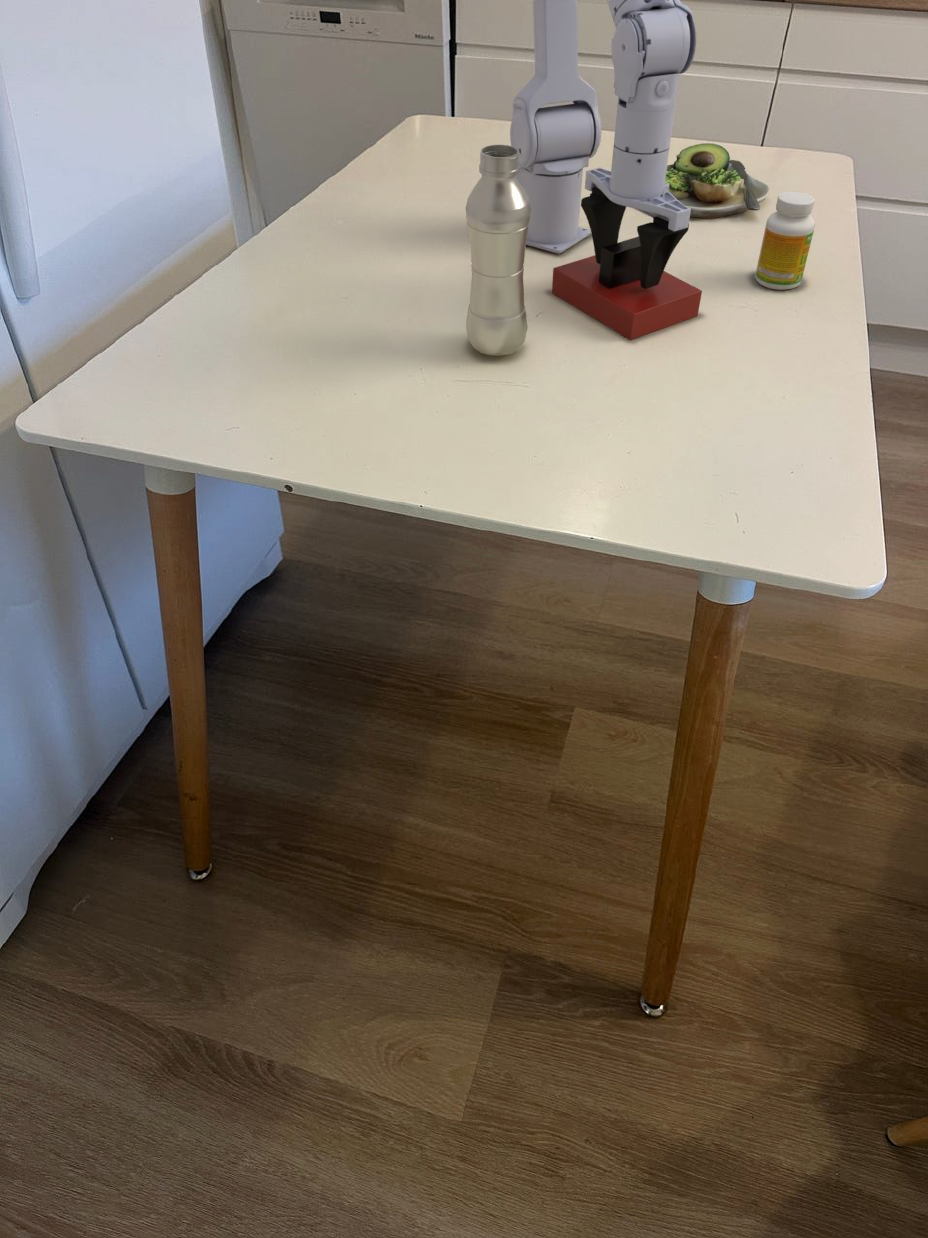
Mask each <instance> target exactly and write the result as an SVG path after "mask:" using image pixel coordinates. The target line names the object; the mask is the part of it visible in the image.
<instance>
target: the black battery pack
mask: <svg viewBox="0 0 928 1238" xmlns="http://www.w3.org/2000/svg"><path fill="white" fill-rule="evenodd" d="M641 259H642V258H641V245H640V239H639V235H638V236H635V237H632V238H628V239H625V240H622V241H618V243H615V244H612V245H609V246H605V247H602V252H601V263H600V273H599V283H601V284H602V285H604V286H606V287H608V288H609V289H611V288H614V287H617V286H620V285H623V284H626V283H629V282H632V281H635V280H638V279H640V273H641Z"/></svg>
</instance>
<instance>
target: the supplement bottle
mask: <svg viewBox="0 0 928 1238" xmlns="http://www.w3.org/2000/svg"><path fill="white" fill-rule="evenodd" d="M814 205H815V198H814V196H813V195H811V194H808V193H806V192H801V191H784V192H782V193H779V195H778V196H777V200H776V204H775V212H773V213H771V214H770V215H769V217H767V220H766V223H765V228H764V232H763V236H762V240H761V241H762V242H761V246H760V251H759V256H758V259H757V265H756V270H755V275H754V278H755V279H756V282H757V283H758V284H759V285H761V286H763V287H764V288H765V287H766V288H767V289H771V290H780V291H781V290H782V291H783V290H785V291H786V290H791V289H795V288H797V287H798V286H800V285H801V284H802V280H803V277H804V272H805V268H806V265H807V261H808V260H807V259H808V257H809V252H810V248H811V244H812V240H813V235H814V232H815V228H816V227H815V226H816V222H815V220H814V218H813V216H811V214H812V213H813V208H814Z"/></svg>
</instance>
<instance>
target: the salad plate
mask: <svg viewBox="0 0 928 1238" xmlns="http://www.w3.org/2000/svg"><path fill="white" fill-rule="evenodd" d="M675 157H676V160H674V162H673V164H667V170H666V178H665V182H667V183H669V190H668V191H669V192H670V193H671V194H672V195H673V196H674V197H675V198H676V199H677V200H678V201H679V202H681V203H682V204H683V205H685V206H686V207H688V208H690V209H691V212H690V217H691V218H700V219H716V218H721V217H725V216H730V215H734V214H742V213H744V212H746V211H755V212H757V211H759V210H760V209H761V207H760V203H762V202H764V201H765V200H766V199H767V197H768V195H769V193H770V187H769V185H767V184H766V183H765V182H763V181H761V180H759V179H757V178H755V177H752V176H751V175H749V174H748V173H747V171H746V167H745V165H744V164H743V163H742V161H740V160H735V159H731V156H730V154H729V151H728V150H727V149H726V148H725V147H723V146H722V145H719V144H716V143H712V142H711V143H706V142H705V143H698V144H694V145H691V146H688V147H685V148H683V149H682V150H681V151H679V153H678V154H677V155H676V156H675Z"/></svg>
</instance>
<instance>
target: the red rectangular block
mask: <svg viewBox="0 0 928 1238" xmlns="http://www.w3.org/2000/svg"><path fill="white" fill-rule="evenodd" d="M599 273H600V264H598V263H597V262H596V257H595V254H594V255H591V256H588V257H584V258H582V259H578V260H575V261H571V262H568V263H565V264H562V265H558V266H556V267H553V268H552V282H551V283H552V285H551V293H552V294H553V295H555V296H557V297H558V298H560V299H562V300H563V301H565V302H566V303H568V304H569V305H571V306H573V307H575V308H576V309H578V310H580V311H582V312H583V313H585V314H586V315H588V316H590V317H591V318H593V319H595V320H596V321H598V322H599V323H601V324H603V325H604V326H606V327H607V328H610V329H611V330H613V331H615V332H616V333H618V334H619V335H622V336H623V337H624V338H626V339H628V340H629V341H632V340H634V339H638V338H640V337H644V336H646V335H649V334H651V333H654V332H657V331H660V330H662V329H665V328H668V327H672V326H673V325H677V324H679V323H682V322H685V321H688V320H690V319H691V320H692V319H694V318H696V317H699V311H700V305H701V300H702V299H701V298H702V294H703V290H701V289H700V288H697V287H696V286H694V285H692V284H690V283H689V282H686V281H684V280H682V279H680V278H679V277H676V276H675V275H673V274H671V273H669V272H667V271H665V270H664V271H663V274H662V276H661V279H660V281H659V284H658V285H656V286H653V287H650V288H647V289H644V288H642V287H641V283H640V279H638V280H635V281H632V282H629V283H626V284H623V285H620V286H617V287H614V288H611V289H609V288H608V287H606V286H604V285H602V284H601V283H599Z"/></svg>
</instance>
